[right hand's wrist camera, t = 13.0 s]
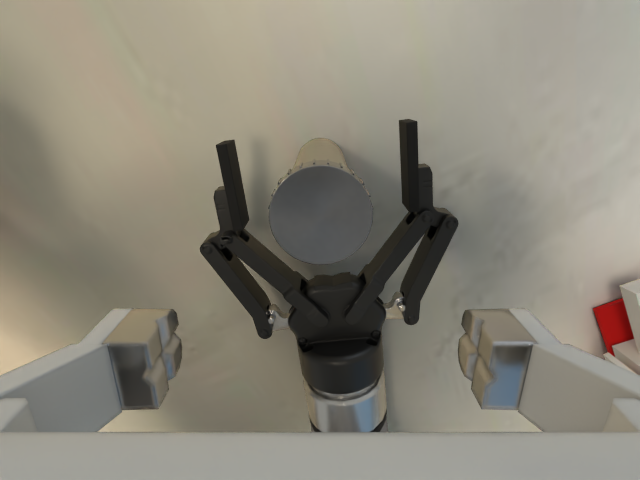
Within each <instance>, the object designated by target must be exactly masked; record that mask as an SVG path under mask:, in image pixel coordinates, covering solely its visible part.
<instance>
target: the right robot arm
mask: <svg viewBox="0 0 640 480" xmlns="http://www.w3.org/2000/svg"><path fill="white" fill-rule="evenodd" d="M178 325H179V324H178V318H177V313H176V312H175V311H174V310H173V309H134V308H123V309H112V310H111V311H110V312H109V313H108V314H107V315H106V316H105V317H104V318H103V319H102V320H101V321H100V322H99V323H98V324H97V325H96V326H95V327H94V328H93V329H92V330H91V331H90V332H89V333H88V334H87V335H86V336H85V337H84V338H83V339H82V340H81V341H80V342H79V343H78V344H71V345H68V346H66V347H64V348H61V349H59V350H57V351H55V352H52V353H50V354H48V355H46V356H43V357H41V358H39V359H37V360H34V361H32V362H30V363H27V364H25V365H23V366H21V367H18V368H16V369H14V370H12V371H9V372H7V373H5V374H3V375H0V480H640V376H639V375H637V374H635V373H633V372H630V371H628V370H626V369H624V368H621V367H619V366H617V365H615V364H612V363H610V362H608V361H606V360H603V359H601V358H599V357H597V356H594V355H592V354H590V353H588V352H585V351H583V350H581V349H579V348H576V347H574V346H572V345H569V344H562V343H561V342H560V341H559V340H558V339H557V338H556V337H555V336H554V335H553V334H552V333H551V332H550V331H549V330H548V329H547V328H546V327H545V326H544V325H543V324H542V323H541V322H540V321H539V320H538V319H537V318H536V317H535V316H534V315H533V314H532V313H531V312H530V311H529V310H528V309H525V308H516V309H477V310H465V312H464V314H463V317H462V324H461V325H462V326H463V328H464V330H465V331H466V333H465V334H464V335H463V336H462V337H461V338H460V339H459V345H458V357H459V364H460V367H461V370H462V372H463V374H464V376H465V377H467V378H468V379H470V380H471V381H472V386H471V390H472V392H473V394H474V395H475V397H476V399H477V401H478V403H479V405H480V407H481V409H497V410H518V412H519V413H520V414H521V415H523V416H524V417H525V418H527V419H528V420H529V421H530V422H532V423H533V424H534V425H535V426H537V427H538V428H539V429H540V430H542V431H543V432H97V431H99V430H100V429H101V428H102V427H104V426H105V425H106V424H107V423H109V422H110V421H111V420H112V419H114V418H115V417H116V416H117V415H119V414H120V413H121V412H122V410H142V409H159V407H160V405H161V403H162V401H163V399H164V397H165V395H166V394H167V392H168V390H169V386H168V381H169V380H170V379H172V378H173V377H175V376H176V374H177V372H178V370H179V367H180V363H181V358H182V344H181V339H180V338H179V337H178V336H177V335H176V334H175V333H174V331H175V330H176V328H177V326H178Z"/></svg>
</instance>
